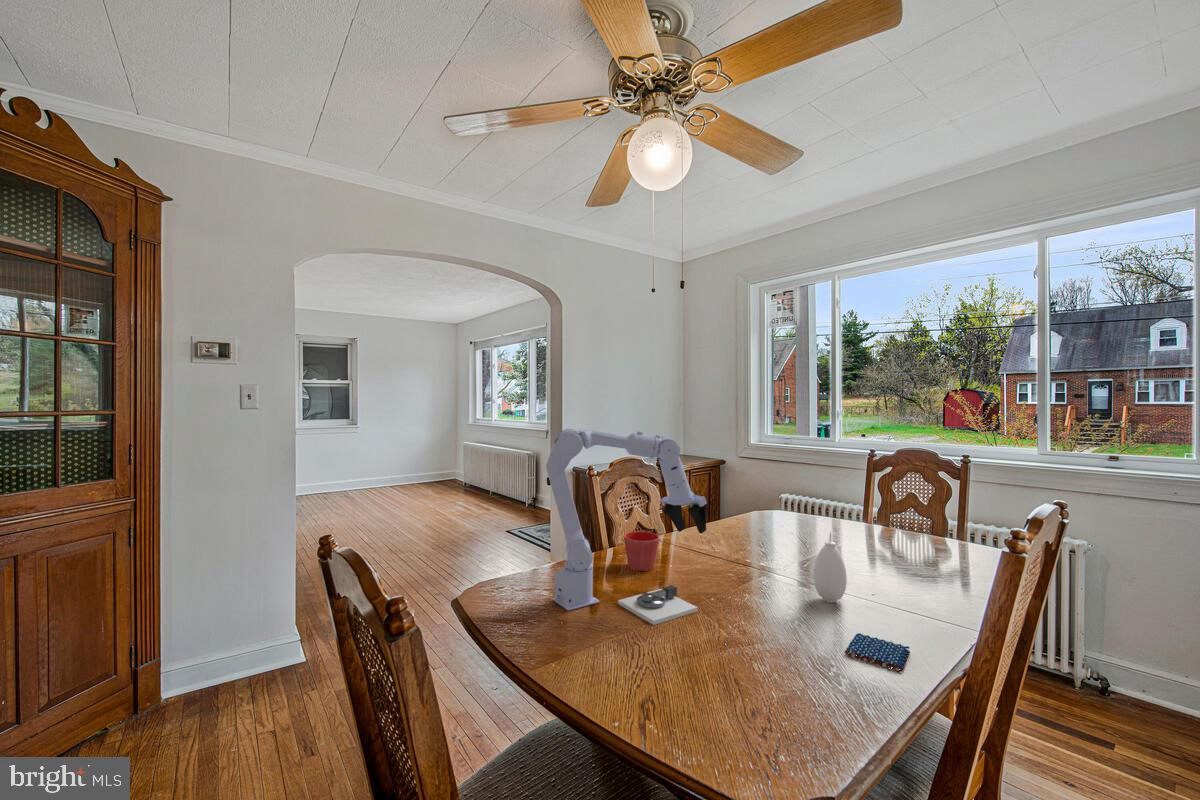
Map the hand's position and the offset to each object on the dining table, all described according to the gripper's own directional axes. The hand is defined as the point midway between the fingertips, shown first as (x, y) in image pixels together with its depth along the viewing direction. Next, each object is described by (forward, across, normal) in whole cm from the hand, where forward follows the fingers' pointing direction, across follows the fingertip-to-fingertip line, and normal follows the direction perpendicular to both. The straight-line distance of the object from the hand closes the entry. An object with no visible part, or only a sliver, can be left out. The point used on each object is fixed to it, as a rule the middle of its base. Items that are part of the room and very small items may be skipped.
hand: (692, 530), depth 132 cm
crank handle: (+12, +4, +15) cm, 20 cm away
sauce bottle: (+28, -19, -21) cm, 40 cm away
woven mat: (+27, -39, -3) cm, 47 cm away
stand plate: (+13, +3, +16) cm, 21 cm away
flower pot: (+14, +28, -1) cm, 32 cm away
